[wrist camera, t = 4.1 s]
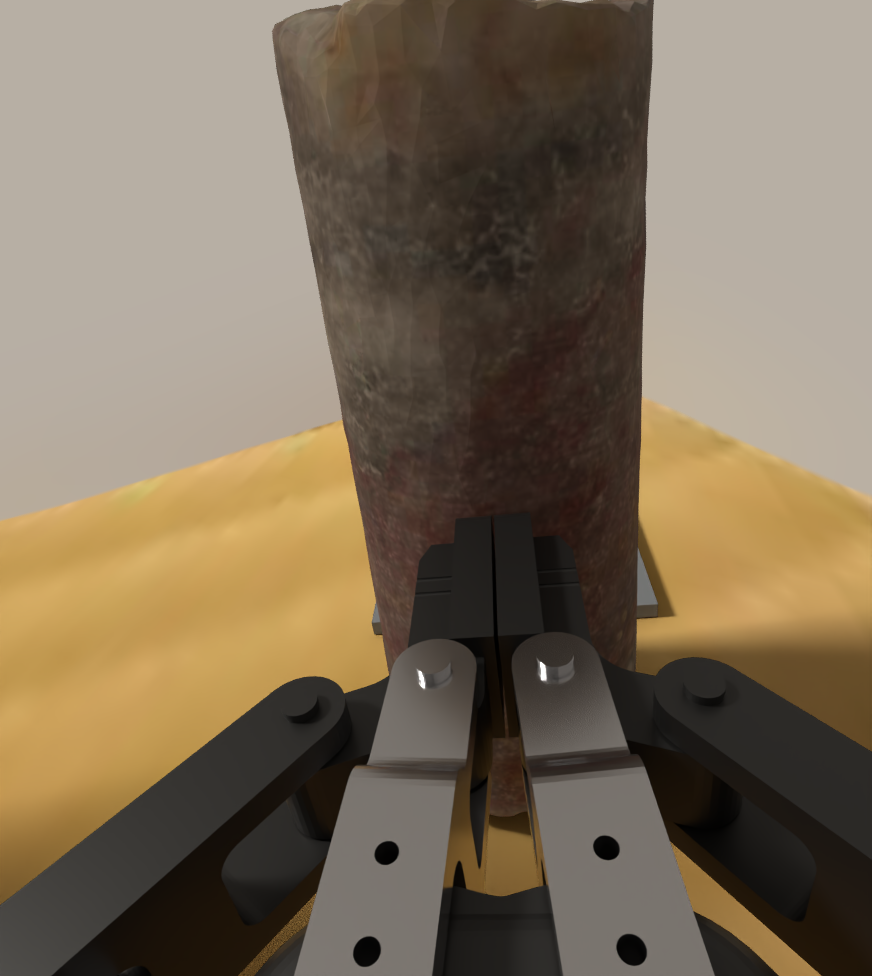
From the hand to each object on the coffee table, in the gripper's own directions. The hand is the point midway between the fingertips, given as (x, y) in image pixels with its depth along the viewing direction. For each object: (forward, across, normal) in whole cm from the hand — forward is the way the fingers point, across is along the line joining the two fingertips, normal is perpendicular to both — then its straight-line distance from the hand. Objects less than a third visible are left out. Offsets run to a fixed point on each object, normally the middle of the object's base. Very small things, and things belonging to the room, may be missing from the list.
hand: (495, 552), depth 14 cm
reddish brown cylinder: (+4, 0, +10) cm, 11 cm away
